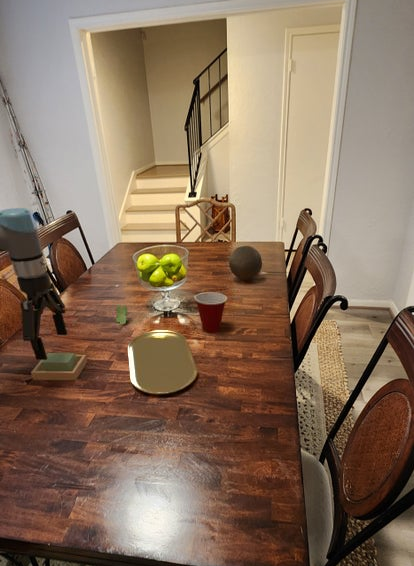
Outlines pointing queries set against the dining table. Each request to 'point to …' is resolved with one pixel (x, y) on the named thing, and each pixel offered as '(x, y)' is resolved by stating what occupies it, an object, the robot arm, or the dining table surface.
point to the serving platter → (161, 362)
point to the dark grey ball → (245, 262)
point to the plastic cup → (210, 310)
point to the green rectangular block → (59, 362)
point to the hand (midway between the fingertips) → (52, 346)
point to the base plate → (60, 375)
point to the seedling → (121, 314)
